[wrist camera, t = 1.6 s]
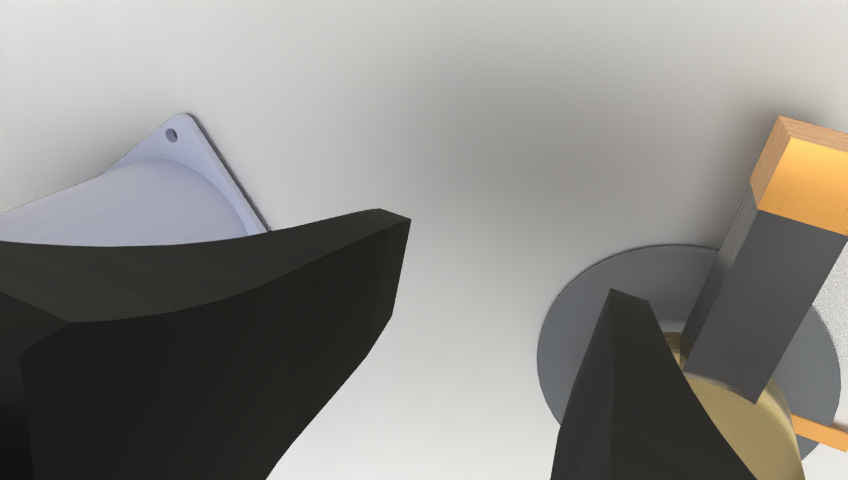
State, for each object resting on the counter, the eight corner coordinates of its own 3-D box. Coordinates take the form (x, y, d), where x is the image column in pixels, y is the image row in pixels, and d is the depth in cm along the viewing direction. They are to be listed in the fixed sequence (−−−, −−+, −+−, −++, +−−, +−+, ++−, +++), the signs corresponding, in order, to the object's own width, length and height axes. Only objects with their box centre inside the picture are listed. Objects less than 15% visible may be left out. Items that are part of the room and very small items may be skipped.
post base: (613, 505, 24) (606, 556, 22) (492, 305, 23) (473, 340, 21) (888, 449, 20) (911, 508, 18) (759, 196, 18) (768, 227, 16)
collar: (738, 533, 20) (744, 601, 18) (547, 454, 21) (532, 508, 19) (968, 164, 14) (1017, 200, 12) (688, 90, 15) (687, 111, 13)
